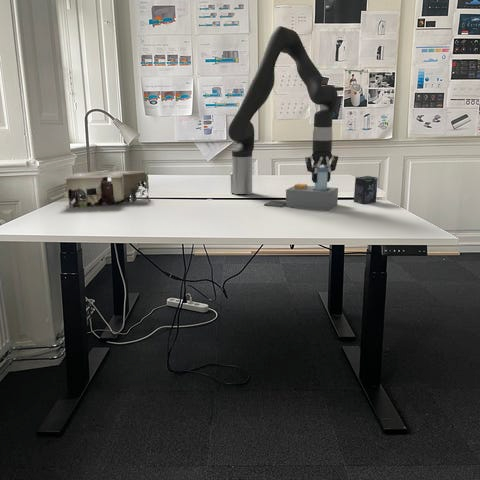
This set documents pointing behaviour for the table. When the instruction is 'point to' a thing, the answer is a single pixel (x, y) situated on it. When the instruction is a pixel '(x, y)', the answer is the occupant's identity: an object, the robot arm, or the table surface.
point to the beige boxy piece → (105, 187)
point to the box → (365, 189)
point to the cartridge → (321, 179)
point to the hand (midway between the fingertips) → (320, 181)
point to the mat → (275, 204)
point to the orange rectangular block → (300, 186)
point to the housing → (312, 198)
